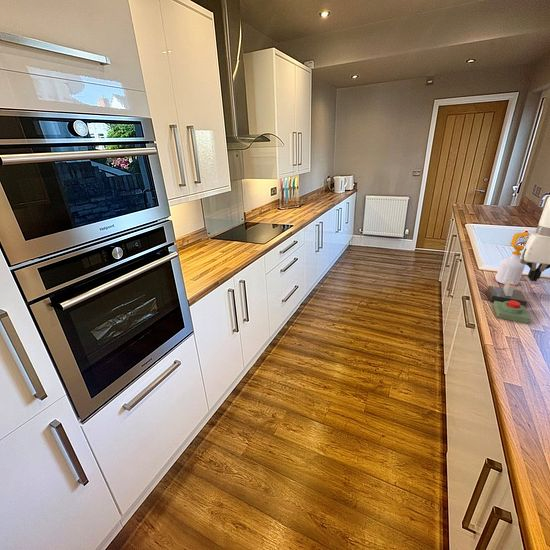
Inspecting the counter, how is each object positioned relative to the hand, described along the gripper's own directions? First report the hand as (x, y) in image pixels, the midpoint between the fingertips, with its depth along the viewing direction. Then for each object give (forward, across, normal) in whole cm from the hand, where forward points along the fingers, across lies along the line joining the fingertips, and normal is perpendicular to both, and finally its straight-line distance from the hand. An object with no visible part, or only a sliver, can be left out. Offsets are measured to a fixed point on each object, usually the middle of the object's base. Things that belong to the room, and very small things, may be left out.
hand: (532, 279), depth 107 cm
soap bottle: (+16, -2, -34) cm, 38 cm away
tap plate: (+16, +2, -14) cm, 22 cm away
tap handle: (+13, +2, -14) cm, 19 cm away
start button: (+13, +2, -1) cm, 13 cm away
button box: (+16, +2, -2) cm, 16 cm away
